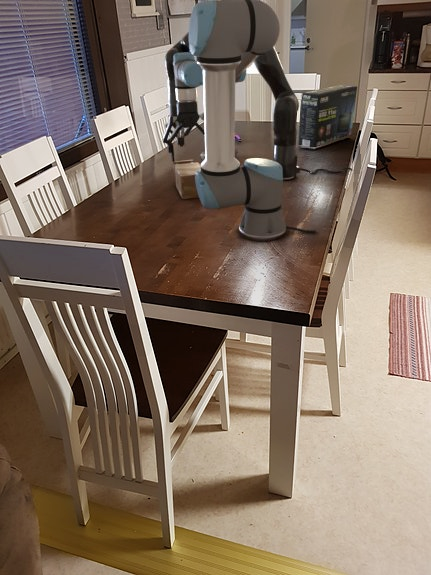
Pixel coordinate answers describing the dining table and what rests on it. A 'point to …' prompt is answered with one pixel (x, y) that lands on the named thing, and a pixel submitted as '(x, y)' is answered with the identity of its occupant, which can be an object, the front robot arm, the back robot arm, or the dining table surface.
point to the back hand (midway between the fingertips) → (181, 146)
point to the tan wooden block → (187, 179)
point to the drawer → (181, 163)
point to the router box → (326, 115)
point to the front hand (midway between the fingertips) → (190, 159)
